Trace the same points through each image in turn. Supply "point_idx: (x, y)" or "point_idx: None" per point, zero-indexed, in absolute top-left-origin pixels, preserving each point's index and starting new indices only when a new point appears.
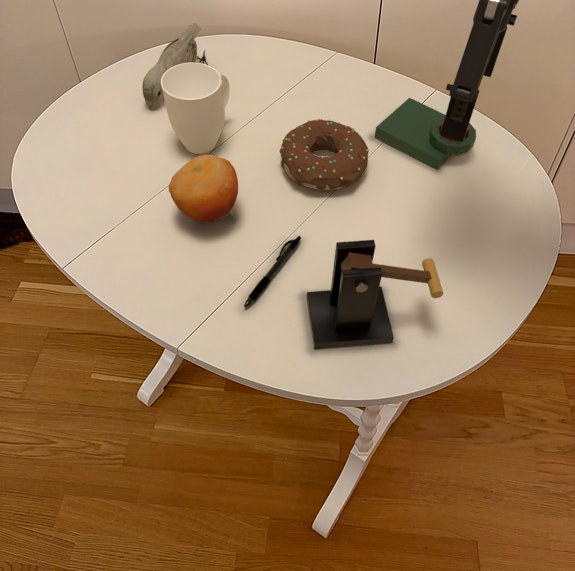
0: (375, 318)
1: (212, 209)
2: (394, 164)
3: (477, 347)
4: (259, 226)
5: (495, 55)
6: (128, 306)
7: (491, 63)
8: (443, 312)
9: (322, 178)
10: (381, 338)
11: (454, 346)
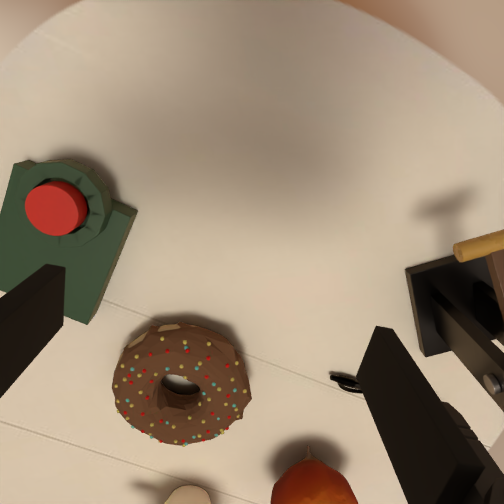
0: (465, 275)
1: (355, 501)
2: (147, 277)
3: (497, 127)
4: (314, 416)
5: (21, 312)
6: None
7: (40, 299)
8: (436, 181)
9: (245, 386)
10: None
11: (495, 162)
